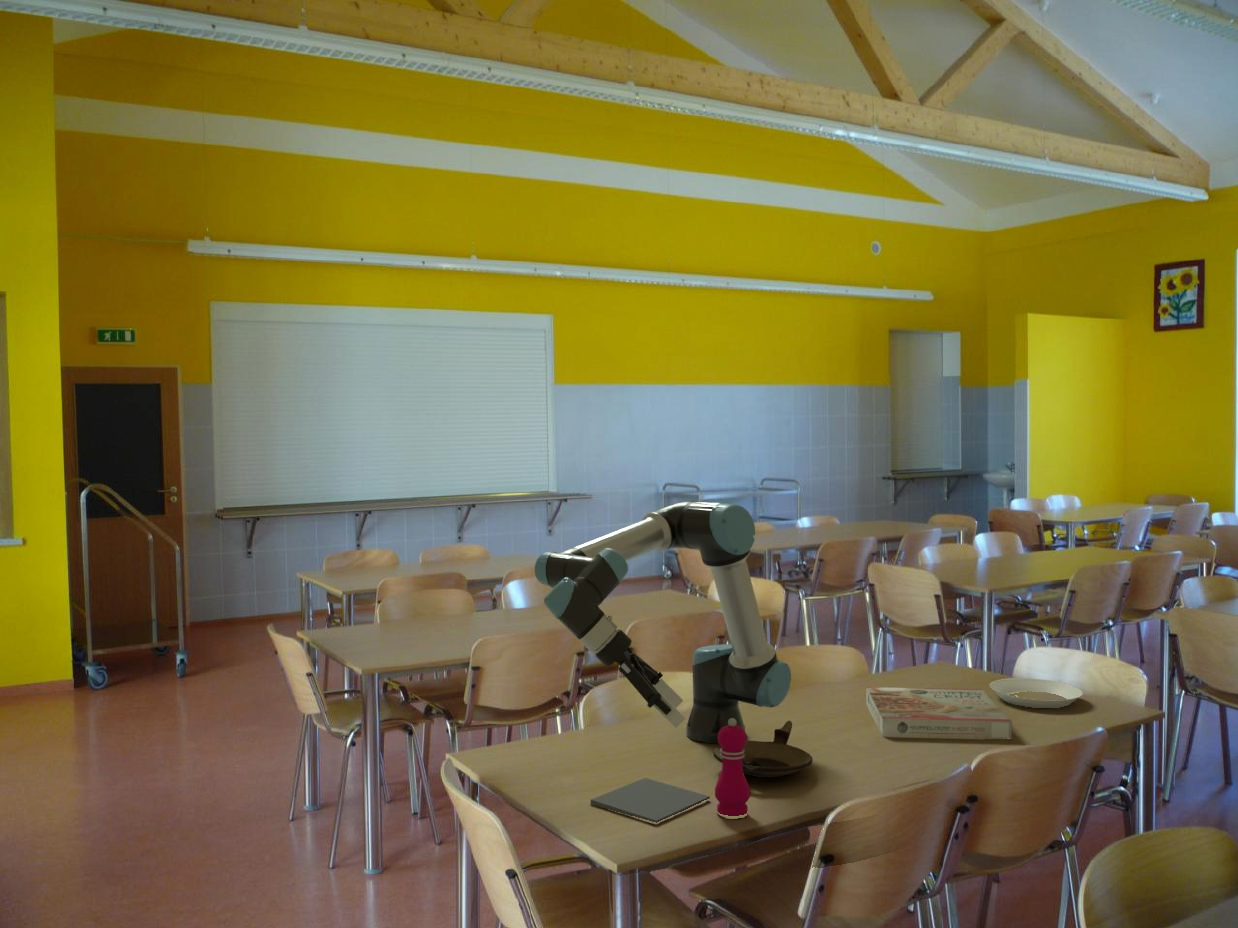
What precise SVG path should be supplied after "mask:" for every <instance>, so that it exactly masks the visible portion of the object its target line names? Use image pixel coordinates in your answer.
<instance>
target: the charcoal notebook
mask: <svg viewBox="0 0 1238 928" xmlns="http://www.w3.org/2000/svg"><path fill="white" fill-rule="evenodd" d="M710 797H711V795H706V794H703V793H700V792H696V791H692V790H689V789H686V788H684V787H683V788H682V787H679V786H676V785H675V786H674V785H673V784H668V783H664V782H661V781H658V780H654V779H651V778H647V777H644V778H641V779H639V780H637V781H633V782H631V783H628V784H626V785H624V786H622V787H618V788H616V789H614V790H611V791H609V792H607V793H604V794H601V795H599V796H595V797H593V798H591V799H590V805H591V804H592V806H595V805H596V806H595V807H598V806H599V807H598V808H601V807H603V808H602V809H604V808H606V809H605V810H607V809H610V810H613V811H616V812H620V813H623V814H627V815H630V816H635V817H638V818H642V819H645V820H649V821H652V822H656V823H657V822H659V821H661V820H663V819H666V818H668V817H670V816H672V815H675V814H677V813H679V812H682V811H684V810H686V809H688V808H690V807H692V806H694V805H696V804H699V803H701V802H702V801H704V800H707V799H709V798H710ZM710 799H711V798H710ZM610 810H609V811H610ZM613 811H612V812H613ZM616 812H615V813H616Z"/></svg>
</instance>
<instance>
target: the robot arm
mask: <svg viewBox="0 0 1238 928" xmlns="http://www.w3.org/2000/svg"><path fill="white" fill-rule="evenodd" d="M754 536H756V526H755V521H754V519H753V517H752V515H751V513H750V512H749V510H747V509H746V508H745V507H743V506H742V505H739V504H736V503H732V502H731V503H730V502H727V501H726V502H725V501H722V502H715V501H714V502H712V501H701V500H700V501H699V500H685V501H679V502H677V503H673V504H671V505H667V506H665V507H664V506H663V507H661V508H660V509H657V510H653V511H652V512H650V513H647V514H645V515H644V516H643V518H642V520H640V521H637V522H636V523H633V524H630V525H628V526H626V527H623V528H620V529H618V530H617V529H616V530H614V531H611V532H610V533H607V534H605V535H603V536H600V537H597V538H595V539H592V540H589V541H587V542H584V543H583V544H579V545H577V546H574V547H572V548H569V549H566V550H564V551H561V552H557V551H547V552H546V551H545V552H543V553H542V554H540V555H539V556H538V558H537V559H536V561H535V564H534V574H535V578H536V580H537V582H539V583H540V584H542V585H543V586H548V587H550V588H552V589H551V590H550V591H549V592H548V593H547V594H546V595H545V597H544V599H543V603H544V605H545V607H546V608H547V609H548V611H550V612H551V614H552V615H553V616H554V618H556V619H558V620H559V621H560V622H561V624H563V625H564V627H566V628H567V630H568V631H570V632H571V633H572V634H573V635H574V636H575V637H576V638H577V639H578V640H579V642H580V643H582V645H583V646H584V647H585V648H586V649H588V651H589V652H590V653H595V658H597V659H598V660H599V661H600V662H601V663H602V664H603V665H604V666H605V667H607V668H608V667H611V666H612V665H614V663H617V665H618V666H619V667H618V671H619V672H620V673H621V674H623V676H624V677H625V678H626V679H627V681H629V683H630V684H631V685H632V686H633V687H634V689H635V690H637V693H639V694H640V696H641V697H642V698H643V699H644V700H645V701H646V702H647V707H648V708H650V709H651V708H655V709H656V710H657V711H658V712H659V713H660V714H661V715H662V716H663V717H664V718H665V719H666V720H667V721H668V722H669V723H670V724H671V725H672V727H674V728H675V729H677V728H678V727H679V726H680V725H681V724H682V723H683V722H684V721H685V720H686V716H685V715H684V714H682V713H681V712H680V710H678V709H677V707H679V705H681V704H682V703H683V702H684V700H683V698H682V697H681V696H680V695H679V694H677V692H676V691H675V690H674V689H673V688H672V687H671V686H669V684H668V683H666V682H667V681H665V680H664V679H663V676H664V674H663V673H662V672H661V671H659V672H658V671H657V670H656V669H654V668H653V667H652V666H651V665H649V664H648V663H647V662H646V661H645V660H643V659H642V658H641V657H640V656H639V655H637V654H636V653H635V652H634V651H633V650H632V649H631V648H630V646H631V645H632V639H631V638H630V637H629V635H627V634H626V633H625V632H624V631H623V630H622V629H618V626H617V624H616V623H614V621H613V616H612V615H608V616H607V615H606V614H605V612H604V611H603V610H602V609H601V608H600V605H602V603H603V602H604V601H605V599H607V597H608V596H609V595H610V594H611V593H612V592H613V591H614V590H615V589H616V588H617V587H618V586H619V585H620V584H621V582H622V580H623V579H624V578H625V577H626V575H627V573H628V571H629V565H628V562H629V561H631V560H634V559H636V558H639V557H640V556H643V555H645V554H648V553H650V552H653V551H655V552H663V551H666V550H669V549H687V550H688V549H690V550H697V551H699V553H700V556H701V557H700V558H701V560H702V563H703V564H704V566H706V567H707V568H710V569H711V574H712V576H713V577H712V578H713V580H714V584H715V588H716V591H717V596H718V598H719V599H718V600H719V603H720V606H721V607H720V608H721V611H722V615H723V619H724V623H725V626H726V629H727V635H728V637H729V641H730V643H729V644H726V643H725V644H712V645H705V646H702V647H698V648H696V650H694V652H693V657H692V659H693V660H692V664H691V665H692V701H693V702H692V708H691V710H690V715H689V717H688V721H687V723H686V734H685V735H686V737H688V738H689V739H691V740H693V741H696V740H697V741H696V742H700V741H701V742H700V743H705V742H706V744H719V743H718V733H719V731H720V730H721V729H722V728H723V727H724V726H727V725H729V724H728V720H729V719H730V718H734V719H735V720H736V722H737V724H736V725H737V726H739V727H741V728H743V730H744V731H745V732H746V726H745V724H744V720H743V716H742V712H741V710H740V707H739V706H740V705H739V702H741V703H746V704H751V705H754V706H758V707H761V708H762V707H765V708H775V707H778V706H779V705H780V704H781V703H782V702H783V701H784V700H785V699H786V697H787V696H788V693H789V691H790V688H791V683H792V670H791V667H790V665H789V664H788V663H786V662H785V661H784V660H779V659H778V656H777V652H776V649H775V647H774V646H773V645H772V644H770V643H768V642H767V638H766V633H765V629H764V627H763V621H762V617H761V614H760V611H759V606H758V603H757V599H756V594H755V590H754V587H753V582H752V579H751V576H750V575H751V574H750V570H749V566H748V563H747V559H748V557H749V556H750V554H751V549H752V547H753V545H754V543H755V537H754Z"/></svg>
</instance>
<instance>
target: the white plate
mask: <svg viewBox="0 0 1238 928" xmlns="http://www.w3.org/2000/svg"><path fill="white" fill-rule="evenodd" d="M989 687H990V689H992V690H993V691H994V693H996V694H997V695H998V696H999V697H1000V698H1001V700H1003V701H1004V702H1005V701H1006V702H1005V703H1007V702H1008V704H1010V703H1011V704H1010V705H1013V704H1014V705H1013V706H1017V705H1020V706H1019V707H1021V706H1025V707H1024V708H1027V707H1032V708H1031V709H1035V708H1057V707H1064V706H1067V707H1068V705H1069V706H1070V705H1071V704H1072V703H1073V702H1075V701H1076V700H1077V699H1078V698H1080V697H1081V696H1083V695H1084V692H1083V690H1082V689H1080V688H1079V687H1077V686H1074V685H1072V684H1069V683H1065V682H1061V681H1056V680H1050V679H1043V678H1042V679H1041V678H1031V677H1030V678H1024V677H1017V678H1015V677H1011V678H1002V679H997V680H993V681H992V682H990V683H989ZM1027 691H1030V692H1031V691H1032V692H1034V691H1035V692H1047V693H1051V694H1056V695H1059V696H1062V697H1064V698H1066V699H1067V700H1035V699H1026V698H1019V697H1018V696H1017V695H1015V696H1016V697H1014V696H1010V695H1009V694H1014V693H1019V692H1027ZM1064 708H1065V707H1064Z"/></svg>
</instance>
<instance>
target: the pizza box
mask: <svg viewBox="0 0 1238 928" xmlns="http://www.w3.org/2000/svg"><path fill="white" fill-rule="evenodd" d="M865 688H866V689H865V697H866V699H865V703H866V707H867V708H868V710H869V712H870V714H871V717H872V718H873V720H874V722H875V725H876V726H877V728H878V731H879V733H880V734H881V736H882V738H906V739H908V738H910V739H911V738H914V739H946V740H947V739H951V740H954V739H956V740H985V739H1004V738H1005V739H1007V738H1012V739H1013V721H1012V720H1011V718H1010V717H1008V715H1007V714H1006V713H1005V712H1004V711H1003V710H1002V709H1001V708H1000V707H999V706H998V705H997V703H995V702H994V700H992V698H990V696H989V695H987V693H986V692H985V691H984V690H983V689H982V688H950V687H949V688H943V687H939V688H938V687H936V688H935V687H892V686H891V687H889V686H888V687H887V686H882V687H881V686H866V687H865Z"/></svg>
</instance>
